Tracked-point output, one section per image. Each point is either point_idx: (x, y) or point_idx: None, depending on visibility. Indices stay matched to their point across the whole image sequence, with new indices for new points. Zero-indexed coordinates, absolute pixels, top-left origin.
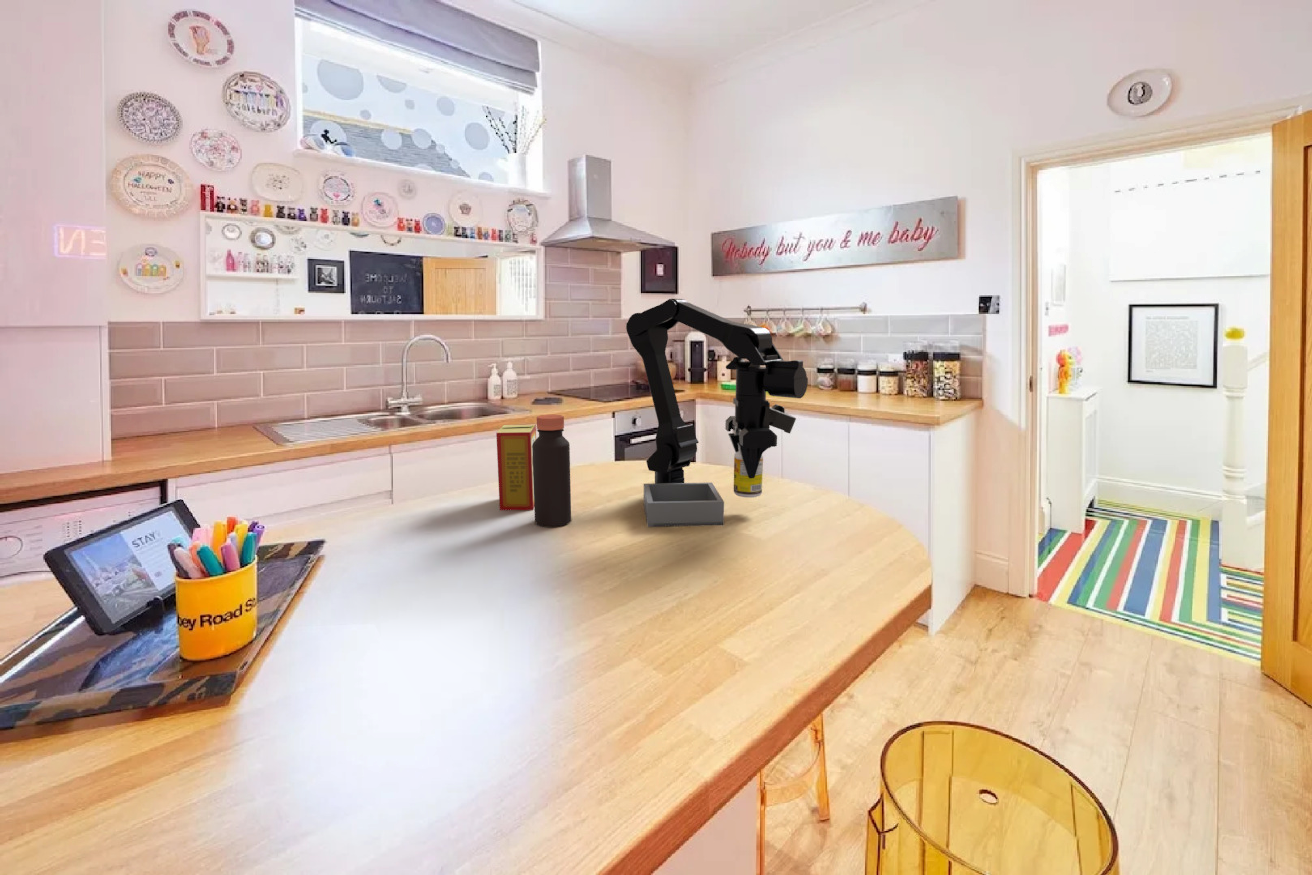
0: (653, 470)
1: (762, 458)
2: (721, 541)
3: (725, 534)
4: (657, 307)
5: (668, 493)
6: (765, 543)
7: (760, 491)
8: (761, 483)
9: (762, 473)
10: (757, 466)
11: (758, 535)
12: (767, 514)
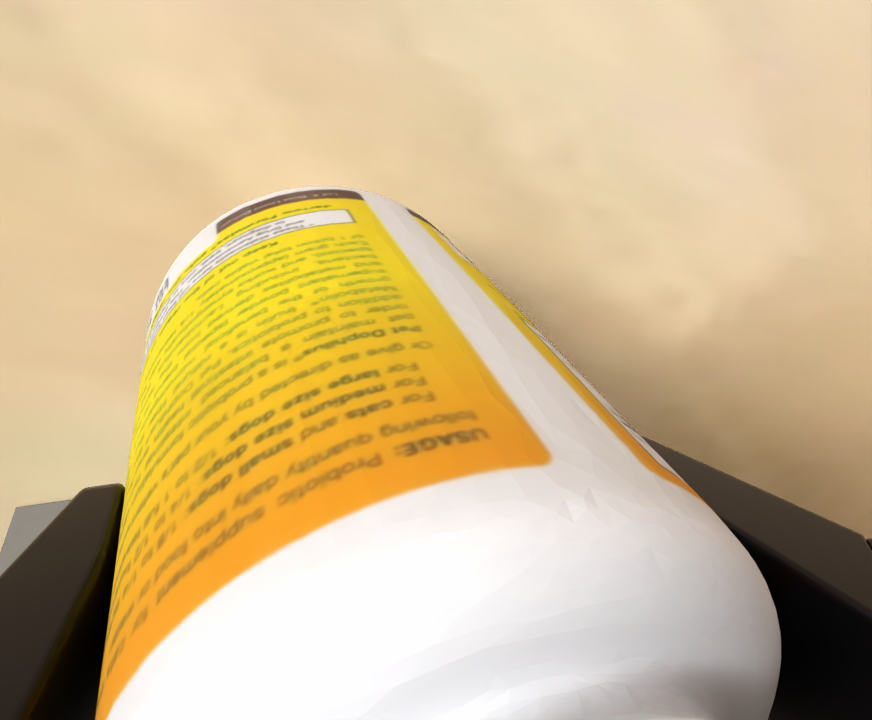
0: None
1: (679, 489)
2: (754, 445)
3: (679, 426)
4: None
5: None
6: (865, 245)
7: (442, 234)
8: (465, 258)
9: (487, 300)
10: (773, 503)
11: (754, 260)
12: (340, 77)
